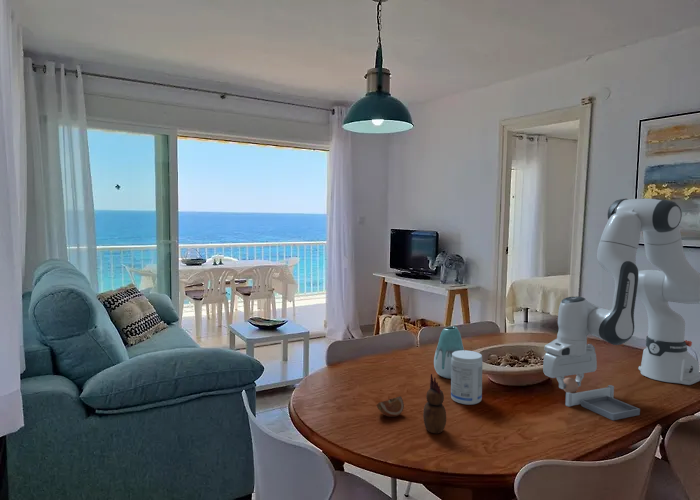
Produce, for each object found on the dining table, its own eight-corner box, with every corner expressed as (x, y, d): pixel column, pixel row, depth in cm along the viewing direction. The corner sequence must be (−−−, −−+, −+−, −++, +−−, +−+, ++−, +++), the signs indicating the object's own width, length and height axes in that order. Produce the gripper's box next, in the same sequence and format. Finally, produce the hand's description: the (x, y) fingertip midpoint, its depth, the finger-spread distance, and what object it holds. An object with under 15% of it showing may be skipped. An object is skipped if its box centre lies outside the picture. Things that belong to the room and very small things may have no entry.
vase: (430, 378, 165) (431, 329, 164) (437, 368, 176) (438, 322, 175) (463, 383, 161) (464, 332, 160) (468, 373, 172) (469, 325, 171)
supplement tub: (468, 392, 153) (469, 348, 152) (488, 402, 144) (489, 356, 143) (444, 396, 148) (445, 352, 147) (463, 407, 140) (465, 360, 139)
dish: (606, 401, 146) (607, 395, 146) (639, 414, 136) (640, 408, 136) (580, 405, 142) (581, 400, 142) (612, 420, 132) (613, 414, 132)
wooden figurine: (420, 425, 128) (421, 372, 127) (441, 424, 128) (442, 371, 127) (426, 436, 121) (428, 380, 120) (448, 436, 121) (449, 380, 120)
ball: (568, 389, 156) (569, 374, 156) (581, 394, 152) (582, 379, 151) (557, 391, 154) (558, 376, 154) (569, 396, 150) (570, 381, 149)
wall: (610, 397, 150) (610, 384, 149) (613, 398, 149) (614, 386, 148) (565, 405, 143) (565, 392, 142) (568, 406, 141) (569, 393, 141)
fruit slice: (385, 423, 129) (385, 405, 129) (371, 414, 134) (371, 397, 134) (408, 416, 134) (408, 399, 133) (393, 408, 139) (393, 392, 139)
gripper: (586, 340, 159) (584, 380, 160) (540, 346, 151) (538, 387, 152) (602, 345, 153) (600, 386, 154) (555, 351, 145) (553, 394, 146)
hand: (569, 387), depth 153 cm, fingers closed on ball, 5 cm apart
